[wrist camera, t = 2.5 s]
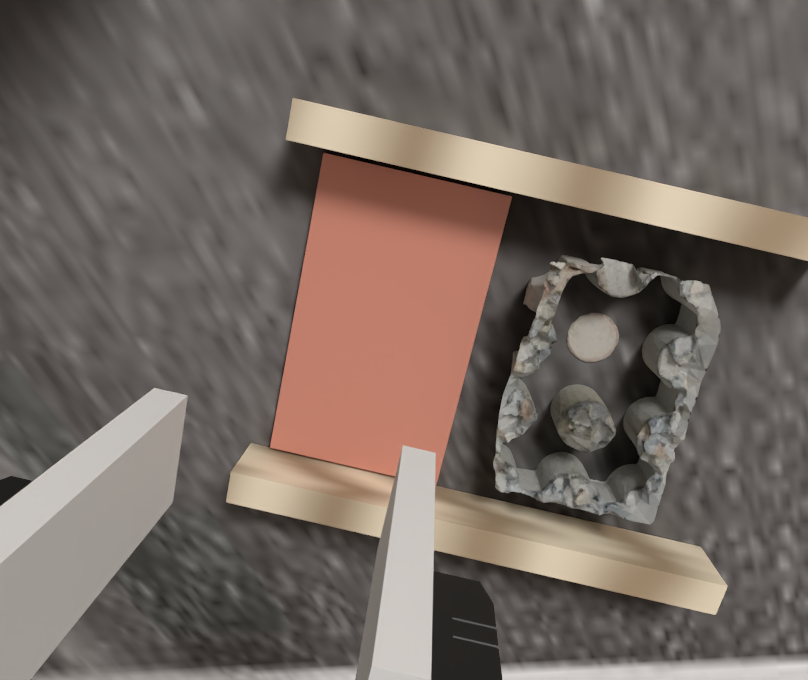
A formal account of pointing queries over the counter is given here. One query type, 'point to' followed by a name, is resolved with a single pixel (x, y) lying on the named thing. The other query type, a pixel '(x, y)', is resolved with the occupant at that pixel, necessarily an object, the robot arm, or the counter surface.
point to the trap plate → (385, 314)
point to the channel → (476, 515)
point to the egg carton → (585, 411)
